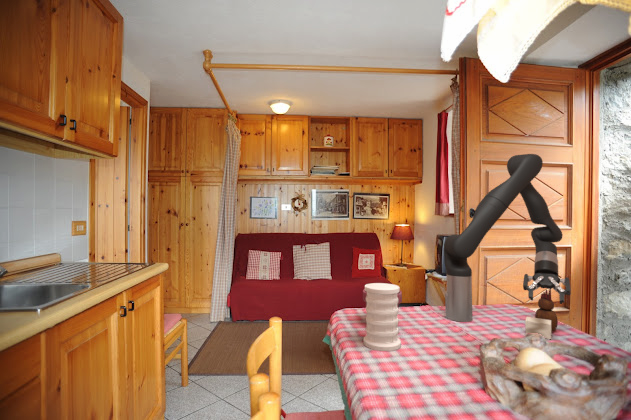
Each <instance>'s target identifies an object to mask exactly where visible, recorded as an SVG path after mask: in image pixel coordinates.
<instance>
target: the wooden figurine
mask: <svg viewBox="0 0 631 420" xmlns="http://www.w3.org/2000/svg"><path fill="white" fill-rule="evenodd" d="M537 305H538V309H537V310H536V312H535V314H534V316H535V317H534V318H539V319H546V320H551V333H553V332H555V331H556V330H557V328H558V323H559V322H558V315H557V313H556V312H555V311H553V310H554V308H555V303H554V300H552V288H551V289H548V290H547V289H545V291H543V293H541V294H540V298H539V299H538V301H537Z"/></svg>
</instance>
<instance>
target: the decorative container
mask: <svg viewBox="0 0 631 420" xmlns="http://www.w3.org/2000/svg"><path fill="white" fill-rule="evenodd" d="M364 289H365V291H367V296H366V302H367V306H366V305H365V312H366V315H365V321H366V325H365V332H366V335H365V336H363V345H364V346H366V348H368V349H370V350H374V351H377V352H378V351H379V352H391V351H392V352H394V351H397V350H399V349H401V347H402V340H401V339H400V338H399V337H398V335H399V332H400V331H399V328H398V324H399V318H398V315H399V312H400V311H399V308H398V307H397V304H398V297H397V293H399V292H400V291H401V289H400V286H399V285H397V284H394V283H393V284H392V283H386V282H385V283H384V282H373V283H366V284H365V285H364Z"/></svg>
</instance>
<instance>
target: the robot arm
mask: <svg viewBox="0 0 631 420" xmlns="http://www.w3.org/2000/svg"><path fill="white" fill-rule="evenodd" d="M543 162H544V161H543V158H542V157H541V156H540V155H539V154H535V153H524V154H516V155H513V156H511V157H509V159H508V160H507V163H506V168H507V169H506V170H507V172H508V175H509V178H507V179H506V180H505V181H502V183H500V184H499V185H497V186H496V187H494V188H493V189H491V190H490V191H489V192H487V193H486V195H485V196H484V197H483V198H482V199H481V201H480V202H479V203H478V205H477V206H476V209H475V210H474V213H473V216H472V219H471V221H470V223H469V224H468V225H467V227H466V228H464V230H463V231H462V232H461V233H460V234H451V235H449V236H448V237H447V238H445V241H444V243H443V259H444V261H443V262H444V267H445V270H446V271H445V272H446V293H445V295H444V296H445V298H444V299H445V300H444V301H445V309H444V310H445V313H444V315H445V319H448V320H451V321H455V322H461V323H462V322H463V323H464V322H465V323H467V322H472V321H473V276H472V275H473V271H472V267H470V265H469V263H468V258H470V257H471V256H473V255H474V253H475V252H476V250H477V249H478V247H479V245H480V244H481V242H482V241H483V239H484V238H485V236H486V235H487V234H488V232H489V231H490V229H492V228H493V226H494V225H495V224H496V223H497V222H498V220H499V219H500V218H501V217H502V216H503V214H504V213H506V211H507V210H508V208H509V207H510V206H511V204H512V202H514V200H515V199H516V198H517V197H518V195H520V197H522V200H523V202H524V204H525V206H526V207H525V208H526V209H527V212H528V216H529V219H530V221H531V222H532V224H534V225H543V226H539V227H534V228H533V229H532V230H531V232H530V236H531V239H532V241H533V243H534V246H535V256H534V263H533V264H534V266H533V267H534V269H533V273H534V274H533V275H529V274H528V273H525V274H524V276H523V284H522V287H523V290H524V291H527V292H528V299H530V301H534V291H536V290H538V289H539V288H540V289H548V290H550V289H551V290H552V289H553V290H554V291H555V292H557V293H558V295H559V297H558V298H559V305H563V304H564V303H565V296H566V295H567V296H571V283H570V278H569V277H564V278H560V276H559V260H558V249H557V248H558V247H557V246H556V244H555V243H558V242H560V241H562V239H563V232H562V230H561V229H560V227H559V226H558V225H557V223H556V222H555V220H554V219H553V217H552V215H551V213H550V210H549V209H550V208H549V206H548V204H547V202H546V200H545V198H544V197H543V196H542V195H541V194H540V192H539V191H538V190H537V188H535V186H534V185H533V184H532V181H533V180H534V179H535V178H536V177H537V176H538V174H540V173H541V170H542V167H543ZM531 281H533V282H532V283H531V284H530V285H529V282H531ZM560 283H562V285H563V286H565V289H564V288H563V287H561V284H560Z"/></svg>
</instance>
